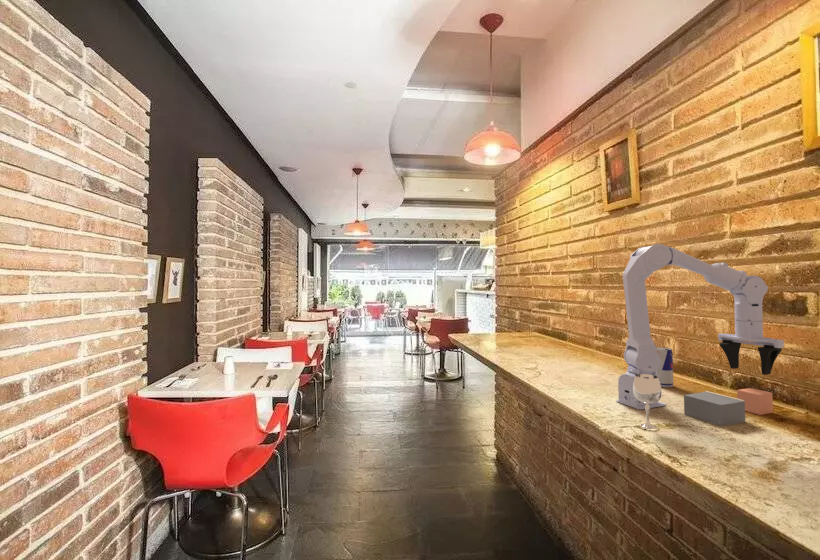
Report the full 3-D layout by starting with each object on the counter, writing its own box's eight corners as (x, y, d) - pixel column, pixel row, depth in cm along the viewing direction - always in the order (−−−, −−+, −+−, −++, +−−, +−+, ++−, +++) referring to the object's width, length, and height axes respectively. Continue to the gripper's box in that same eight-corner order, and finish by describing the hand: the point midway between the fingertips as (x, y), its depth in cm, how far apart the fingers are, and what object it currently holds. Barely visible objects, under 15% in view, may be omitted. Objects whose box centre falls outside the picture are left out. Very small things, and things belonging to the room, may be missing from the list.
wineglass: (652, 434, 89) (651, 380, 90) (628, 426, 95) (627, 375, 95) (667, 429, 92) (666, 377, 92) (643, 421, 97) (642, 372, 97)
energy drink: (677, 387, 126) (676, 349, 126) (660, 387, 126) (659, 350, 127) (666, 383, 132) (665, 347, 132) (650, 383, 132) (649, 347, 132)
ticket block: (721, 426, 93) (720, 404, 93) (684, 414, 102) (683, 394, 102) (745, 422, 95) (744, 400, 95) (707, 410, 104) (706, 390, 104)
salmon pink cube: (759, 414, 100) (758, 394, 100) (737, 409, 105) (737, 389, 105) (772, 412, 101) (772, 392, 101) (750, 406, 106) (750, 387, 106)
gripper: (791, 321, 101) (792, 375, 101) (730, 317, 115) (731, 364, 115) (772, 323, 99) (773, 378, 99) (712, 318, 113) (713, 366, 113)
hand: (749, 371), depth 107 cm, fingers open, 7 cm apart
